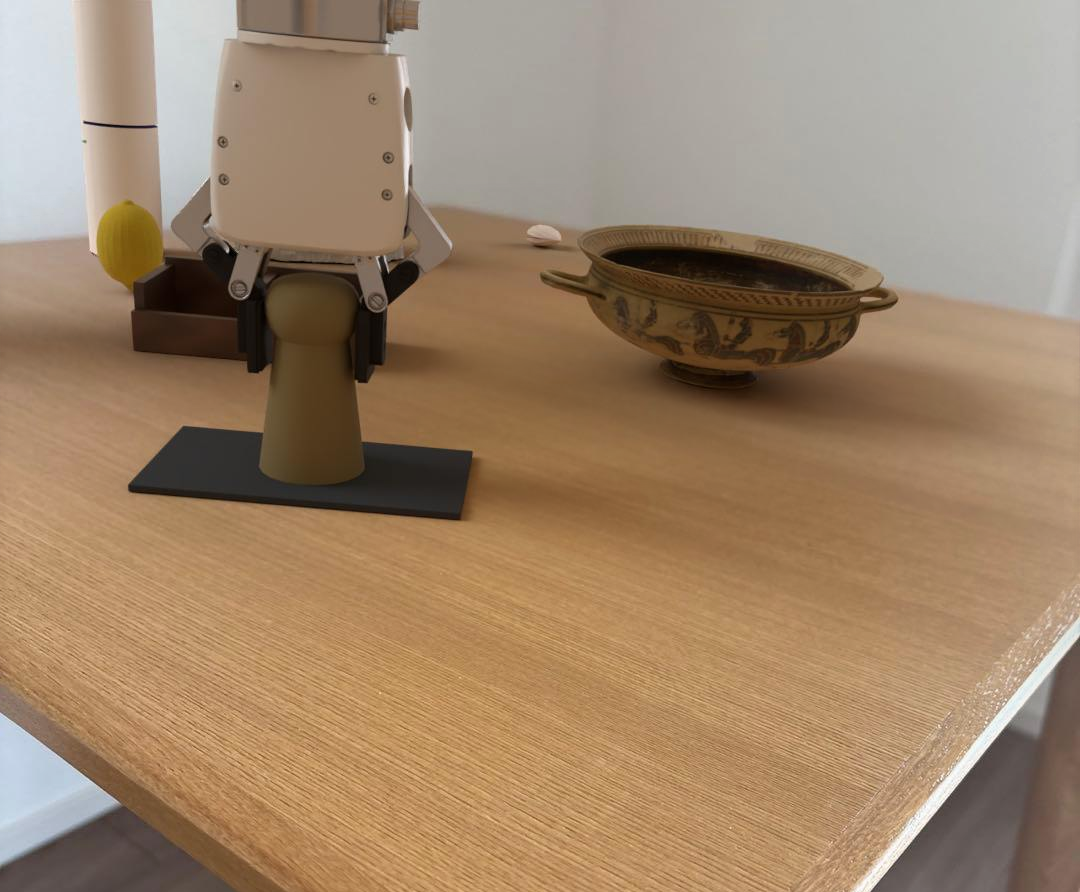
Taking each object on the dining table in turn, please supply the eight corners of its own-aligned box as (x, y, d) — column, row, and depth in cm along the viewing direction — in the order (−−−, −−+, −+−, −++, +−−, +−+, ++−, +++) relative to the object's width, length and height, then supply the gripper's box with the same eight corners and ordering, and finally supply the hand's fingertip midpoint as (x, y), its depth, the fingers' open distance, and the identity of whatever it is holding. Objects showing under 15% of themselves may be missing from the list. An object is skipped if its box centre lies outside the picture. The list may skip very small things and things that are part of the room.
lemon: (139, 301, 98) (134, 206, 95) (86, 291, 100) (79, 198, 97) (177, 290, 103) (173, 200, 100) (126, 281, 105) (120, 192, 101)
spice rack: (132, 350, 85) (128, 277, 83) (170, 322, 93) (167, 254, 91) (364, 371, 85) (366, 298, 83) (381, 340, 94) (383, 274, 91)
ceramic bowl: (562, 418, 79) (577, 275, 75) (506, 330, 100) (515, 215, 96) (949, 427, 85) (982, 295, 81) (819, 343, 107) (840, 235, 103)
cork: (332, 493, 62) (334, 294, 58) (237, 471, 64) (232, 276, 59) (383, 460, 67) (388, 275, 63) (294, 440, 69) (294, 259, 65)
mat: (127, 491, 61) (127, 484, 61) (183, 431, 70) (183, 425, 70) (460, 519, 61) (460, 513, 61) (472, 456, 71) (472, 450, 70)
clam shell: (544, 242, 144) (546, 222, 143) (571, 250, 141) (573, 229, 140) (519, 244, 141) (521, 223, 140) (546, 251, 138) (548, 230, 137)
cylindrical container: (121, 262, 112) (103, -18, 101) (74, 250, 115) (53, -23, 105) (178, 255, 117) (167, -12, 107) (132, 243, 121) (117, -17, 110)
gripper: (491, 33, 59) (469, 367, 67) (165, 1, 59) (179, 341, 67) (482, 33, 53) (459, 405, 60) (114, -3, 52) (136, 377, 60)
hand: (312, 368), depth 63 cm, fingers closed on cork, 5 cm apart
